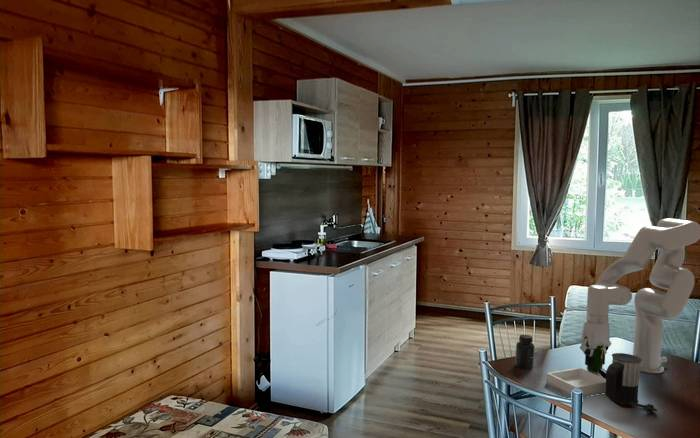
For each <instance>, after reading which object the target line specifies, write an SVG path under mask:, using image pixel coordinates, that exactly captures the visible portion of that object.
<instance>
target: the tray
mask: <svg viewBox="0 0 700 438" xmlns="http://www.w3.org/2000/svg"><path fill="white" fill-rule="evenodd" d="M545 384H546V385H547V386H549V387H552V388H554V389H556V390H557V391H559V392H561V393H562V394H565V395H567V396H569V397H571V392H572V390H573V389H574V388H579V389H581V390H582V391H583V398H588V397H587V396H589V397H592V396H591V395H595V396H597V395H596V394H600V395H603V394H602V393H605V394H606V377H605V378H604V377H602V376H600V375H599V374H593V373H591V372H589V371H588V370H587V369H584V368H581V367H577V368H576V367H575V368H569V369H563V370H562V369H561V370H557V371H551V372H546V374H545ZM583 398H582V399H583Z"/></svg>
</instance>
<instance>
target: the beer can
mask: <svg viewBox="0 0 700 438" xmlns="http://www.w3.org/2000/svg"><path fill="white" fill-rule="evenodd" d="M602 343H603V342H602ZM602 343H599V345H598V346H597V348H596V349H594V351H593V354H592V357H593V367H590V366H587V365H586V371H589V372H591V373H593V374H595V375H599V372H598V370H601V369H602V370H603V366H604V365H603V347H604V345H603V344H602ZM588 351H589V352H590V349H589V350H588Z"/></svg>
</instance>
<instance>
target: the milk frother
mask: <svg viewBox="0 0 700 438" xmlns="http://www.w3.org/2000/svg"><path fill="white" fill-rule="evenodd" d="M611 357H612V360H611V361H612V362H611V363H610V364H609V365H608V367H607V369H606V371H605V372H606V373H605V379H606V393H605V396H606V397H607V398H609V400H611V401H612V400H613V401H612V402H615V403H617V402H618V403H617V404H620V403H621V404H622V405H625V404H626V406H634V407H635V406H636V407H639V408H642V409H644V410H645V411H646V412H647V413H651V414H652V413H654V412H658V408H655V406H654V405H653V404H650V403H647V404H640V403H639V400H638V399H639V382H640V375H641V374H640V373H641V371H640V364H641V361H642V359H641V358H639V357H637V356H634V355H633V354H629V353H623V352H617V353H616V352H615V353H612V354H611ZM621 404H620V405H621Z"/></svg>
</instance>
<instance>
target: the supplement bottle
mask: <svg viewBox="0 0 700 438" xmlns="http://www.w3.org/2000/svg"><path fill="white" fill-rule="evenodd" d="M518 337H519V338H518V340H519V341H518V342H516V343H515V344H516V347H515V358H514V359H515V360H514V364H515V366H516V367H517V368H520V369H525V370H526V369H527V370H530V369H533V368H534V359H535V344H534V343H533V336H532V335H529V334H520V335H519V336H518Z"/></svg>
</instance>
